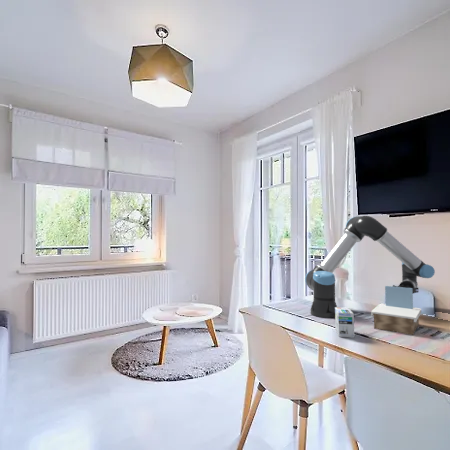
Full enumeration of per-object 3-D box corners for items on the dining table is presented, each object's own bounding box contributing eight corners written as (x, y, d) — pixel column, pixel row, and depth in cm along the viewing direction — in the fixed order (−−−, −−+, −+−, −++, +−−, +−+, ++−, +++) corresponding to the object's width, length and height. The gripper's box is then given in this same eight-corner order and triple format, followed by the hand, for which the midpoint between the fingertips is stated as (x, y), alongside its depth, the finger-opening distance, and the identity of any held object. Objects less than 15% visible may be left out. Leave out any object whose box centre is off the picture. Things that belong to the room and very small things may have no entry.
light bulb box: (354, 338, 134) (354, 313, 134) (338, 337, 135) (338, 312, 135) (349, 330, 144) (349, 307, 144) (334, 329, 145) (334, 306, 146)
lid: (371, 315, 147) (370, 290, 147) (380, 307, 164) (380, 284, 164) (416, 322, 136) (415, 295, 136) (421, 312, 152) (420, 288, 153)
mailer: (374, 328, 147) (373, 313, 147) (382, 319, 162) (382, 305, 163) (413, 335, 137) (412, 319, 137) (418, 324, 153) (418, 310, 153)
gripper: (394, 279, 183) (386, 284, 164) (420, 281, 175) (415, 287, 156) (394, 292, 183) (386, 299, 164) (420, 294, 175) (415, 302, 156)
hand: (400, 293), depth 160 cm, fingers closed
